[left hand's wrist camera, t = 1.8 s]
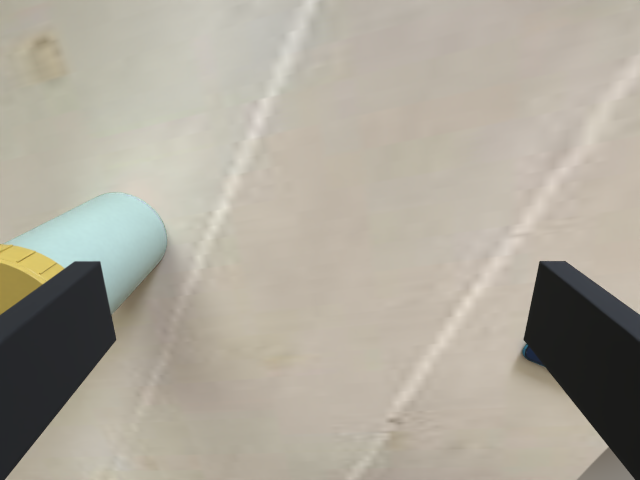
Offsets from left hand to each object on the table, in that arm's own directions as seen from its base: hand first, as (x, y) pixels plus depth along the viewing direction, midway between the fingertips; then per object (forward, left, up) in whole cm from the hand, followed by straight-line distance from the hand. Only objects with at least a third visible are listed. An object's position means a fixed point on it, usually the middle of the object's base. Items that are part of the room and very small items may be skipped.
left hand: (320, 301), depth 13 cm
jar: (+8, -20, -28) cm, 35 cm away
